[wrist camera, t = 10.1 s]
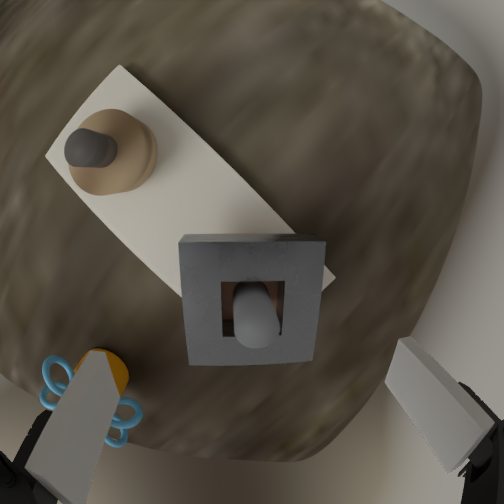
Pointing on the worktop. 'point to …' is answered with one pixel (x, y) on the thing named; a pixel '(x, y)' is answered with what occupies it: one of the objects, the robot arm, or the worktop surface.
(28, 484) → the robot arm
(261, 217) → the board
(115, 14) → the worktop surface
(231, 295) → the peg
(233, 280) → the square frame with hole
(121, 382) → the tube with blue rings
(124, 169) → the stand
